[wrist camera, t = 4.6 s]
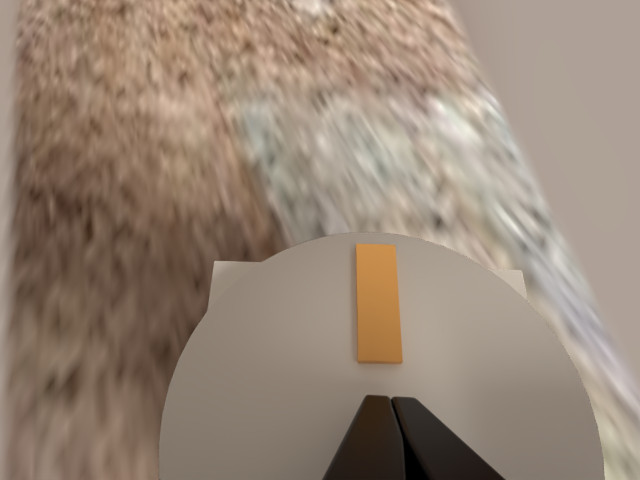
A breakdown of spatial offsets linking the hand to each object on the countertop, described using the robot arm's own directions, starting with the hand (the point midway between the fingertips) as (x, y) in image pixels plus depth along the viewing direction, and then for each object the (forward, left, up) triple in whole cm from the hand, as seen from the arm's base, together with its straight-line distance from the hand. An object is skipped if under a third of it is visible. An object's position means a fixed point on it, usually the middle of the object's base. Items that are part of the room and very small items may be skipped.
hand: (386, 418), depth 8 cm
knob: (0, 0, -7) cm, 7 cm away
